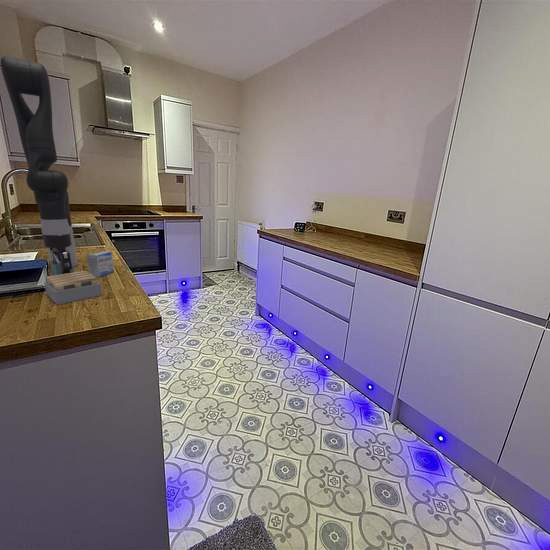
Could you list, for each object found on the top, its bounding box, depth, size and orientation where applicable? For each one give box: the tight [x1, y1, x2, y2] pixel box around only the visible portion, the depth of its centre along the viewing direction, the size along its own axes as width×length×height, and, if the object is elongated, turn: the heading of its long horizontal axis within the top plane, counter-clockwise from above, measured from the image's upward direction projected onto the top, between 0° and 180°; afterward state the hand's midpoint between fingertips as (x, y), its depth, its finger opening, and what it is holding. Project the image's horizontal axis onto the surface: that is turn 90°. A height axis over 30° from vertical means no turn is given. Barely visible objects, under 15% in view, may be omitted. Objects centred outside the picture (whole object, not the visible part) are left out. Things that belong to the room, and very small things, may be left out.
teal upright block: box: [50, 261, 74, 276], centre depth 101 cm, size 5×5×8 cm
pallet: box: [45, 270, 98, 291], centre depth 91 cm, size 11×11×2 cm
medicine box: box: [87, 250, 115, 278], centre depth 114 cm, size 8×4×9 cm, turn 168°
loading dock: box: [44, 281, 103, 306], centre depth 92 cm, size 12×12×4 cm
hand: (63, 278), depth 101 cm, fingers open, 8 cm apart
